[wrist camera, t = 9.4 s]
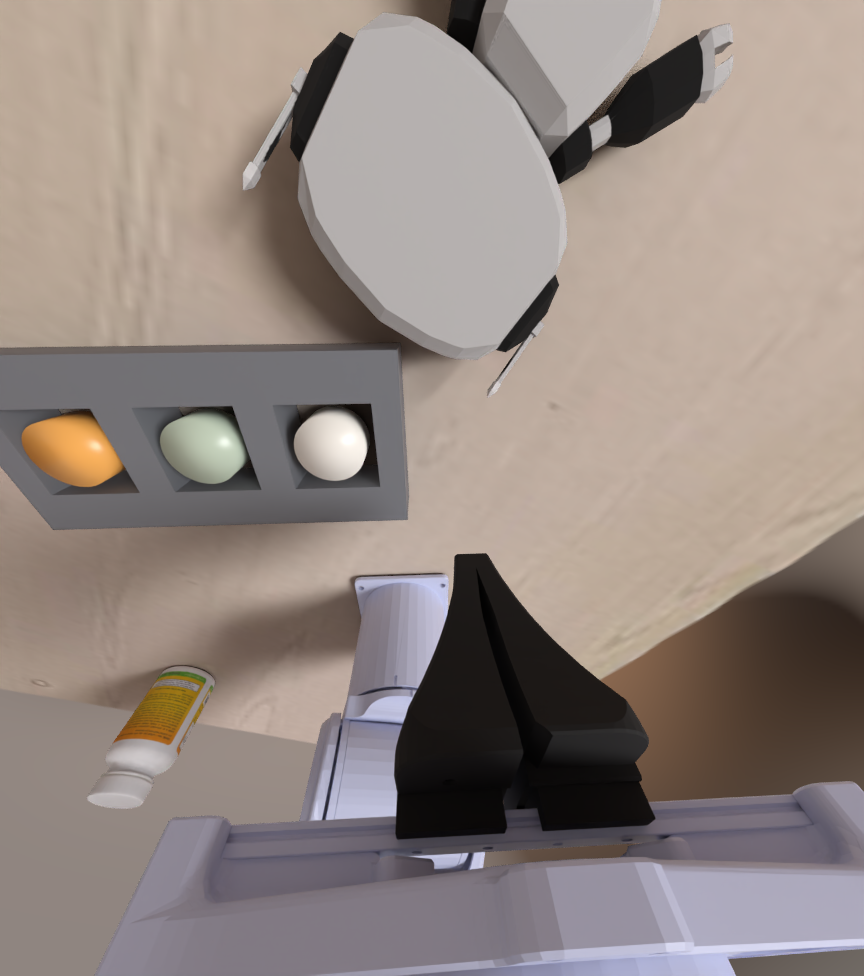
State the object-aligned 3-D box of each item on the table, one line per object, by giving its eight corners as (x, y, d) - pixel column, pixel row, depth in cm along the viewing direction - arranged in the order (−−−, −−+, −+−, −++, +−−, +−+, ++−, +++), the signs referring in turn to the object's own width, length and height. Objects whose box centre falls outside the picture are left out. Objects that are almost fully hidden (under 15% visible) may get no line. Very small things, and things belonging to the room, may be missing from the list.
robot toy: (490, -255, 9) (272, 229, 14) (555, -686, 5) (222, 190, 10) (687, 117, 14) (468, 393, 18) (806, 29, 10) (487, 411, 14)
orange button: (148, 469, 19) (121, 486, 17) (85, 471, 19) (52, 488, 17) (114, 409, 17) (80, 421, 15) (44, 411, 17) (3, 422, 15)
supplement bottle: (151, 667, 32) (58, 794, 24) (200, 661, 32) (123, 787, 24) (180, 692, 35) (105, 814, 27) (225, 687, 35) (164, 808, 26)
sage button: (261, 467, 19) (246, 483, 18) (200, 468, 19) (179, 484, 17) (241, 407, 17) (222, 418, 16) (173, 408, 17) (146, 420, 15)
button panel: (408, 494, 22) (407, 519, 20) (96, 502, 22) (53, 529, 19) (400, 342, 17) (397, 349, 14) (-11, 348, 16) (-91, 356, 14)
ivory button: (373, 464, 19) (368, 480, 18) (312, 465, 19) (302, 481, 18) (366, 405, 17) (360, 416, 16) (299, 406, 17) (285, 417, 16)
